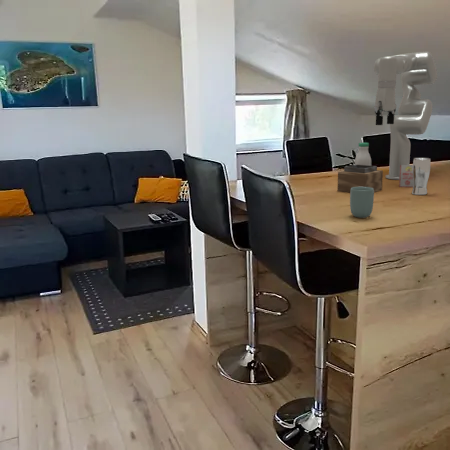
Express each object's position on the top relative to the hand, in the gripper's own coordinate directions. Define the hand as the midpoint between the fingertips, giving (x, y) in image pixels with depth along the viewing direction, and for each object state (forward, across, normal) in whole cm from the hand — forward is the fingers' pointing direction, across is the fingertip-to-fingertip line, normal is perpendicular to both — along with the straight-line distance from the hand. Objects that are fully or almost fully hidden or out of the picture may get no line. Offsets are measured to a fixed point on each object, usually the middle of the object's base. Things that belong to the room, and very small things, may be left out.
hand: (384, 124), depth 220 cm
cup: (+28, +60, +27) cm, 72 cm away
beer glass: (+28, +8, +23) cm, 37 cm away
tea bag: (+29, -5, +10) cm, 31 cm away
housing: (+28, +17, -1) cm, 33 cm away
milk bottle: (+28, +4, -8) cm, 30 cm away
